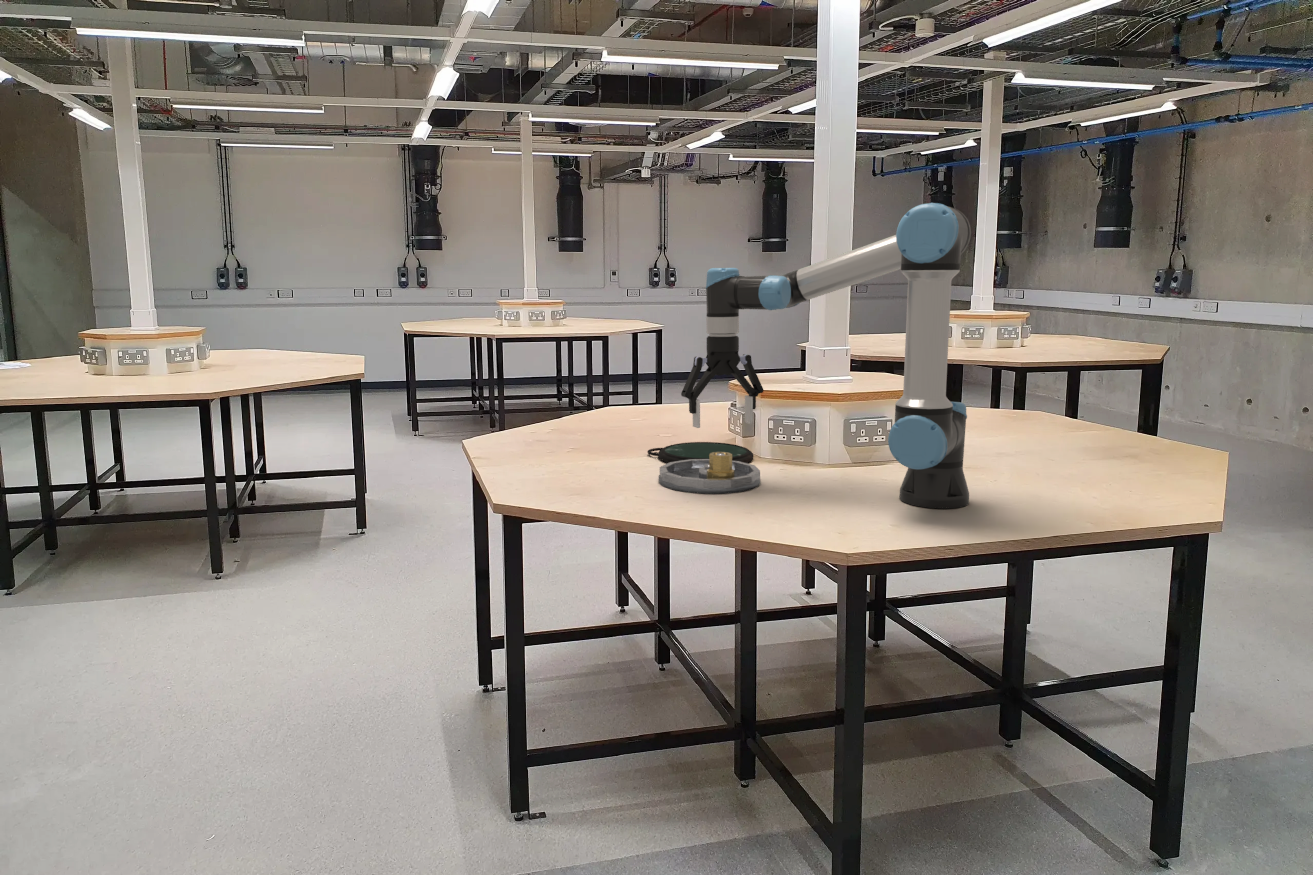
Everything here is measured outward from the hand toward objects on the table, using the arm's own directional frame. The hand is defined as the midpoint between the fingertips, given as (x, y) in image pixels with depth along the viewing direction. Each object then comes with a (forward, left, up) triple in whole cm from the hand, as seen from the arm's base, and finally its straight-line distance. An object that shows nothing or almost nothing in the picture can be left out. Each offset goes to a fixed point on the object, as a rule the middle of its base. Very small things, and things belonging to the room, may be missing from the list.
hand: (722, 425), depth 218 cm
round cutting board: (+18, -31, -16) cm, 39 cm away
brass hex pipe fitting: (0, 0, -14) cm, 14 cm away
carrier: (+5, -5, -15) cm, 17 cm away
